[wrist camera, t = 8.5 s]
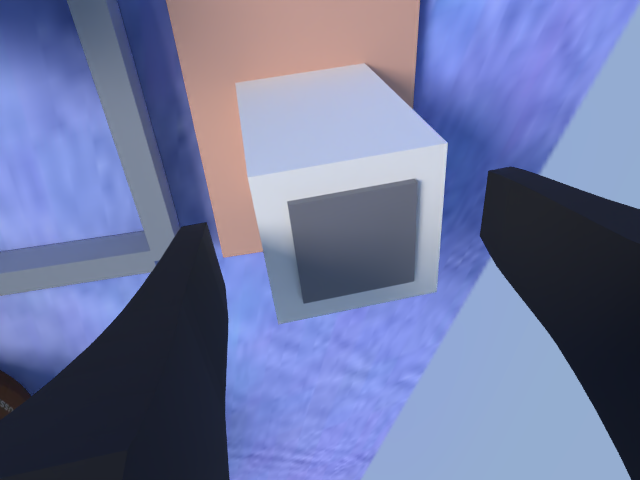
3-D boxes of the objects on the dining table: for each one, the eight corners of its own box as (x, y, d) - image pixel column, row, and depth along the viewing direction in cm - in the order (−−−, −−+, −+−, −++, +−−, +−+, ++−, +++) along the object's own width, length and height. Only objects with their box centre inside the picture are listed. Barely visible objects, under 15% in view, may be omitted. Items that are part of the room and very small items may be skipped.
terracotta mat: (415, -34, 15) (422, -32, 15) (400, 222, 21) (405, 229, 20) (165, -13, 14) (163, -10, 14) (223, 249, 20) (223, 257, 19)
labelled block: (364, 63, 16) (451, 146, 10) (368, 178, 19) (439, 296, 13) (235, 83, 15) (248, 181, 10) (257, 197, 18) (279, 329, 12)
